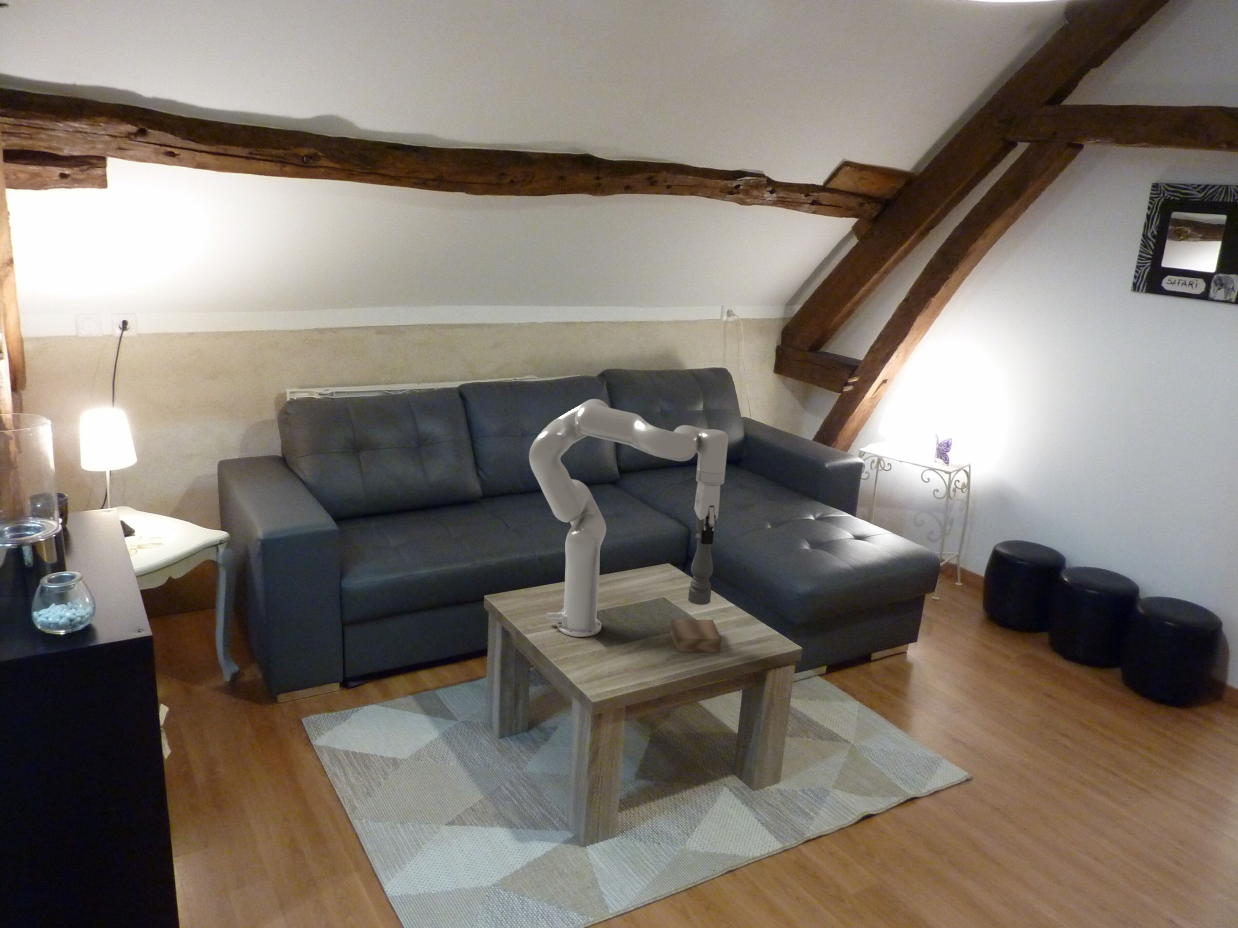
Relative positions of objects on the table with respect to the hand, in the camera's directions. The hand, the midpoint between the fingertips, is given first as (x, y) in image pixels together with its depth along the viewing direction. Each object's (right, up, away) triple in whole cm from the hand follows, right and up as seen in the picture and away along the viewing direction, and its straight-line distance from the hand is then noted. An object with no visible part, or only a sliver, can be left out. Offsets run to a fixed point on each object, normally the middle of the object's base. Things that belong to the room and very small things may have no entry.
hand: (704, 539), depth 259 cm
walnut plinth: (-2, -30, +8) cm, 31 cm away
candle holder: (-1, -17, +5) cm, 18 cm away
